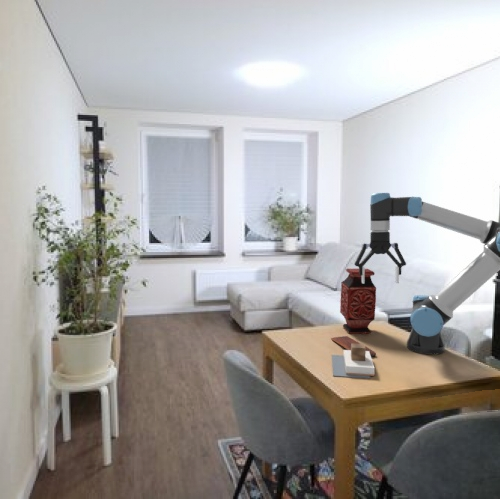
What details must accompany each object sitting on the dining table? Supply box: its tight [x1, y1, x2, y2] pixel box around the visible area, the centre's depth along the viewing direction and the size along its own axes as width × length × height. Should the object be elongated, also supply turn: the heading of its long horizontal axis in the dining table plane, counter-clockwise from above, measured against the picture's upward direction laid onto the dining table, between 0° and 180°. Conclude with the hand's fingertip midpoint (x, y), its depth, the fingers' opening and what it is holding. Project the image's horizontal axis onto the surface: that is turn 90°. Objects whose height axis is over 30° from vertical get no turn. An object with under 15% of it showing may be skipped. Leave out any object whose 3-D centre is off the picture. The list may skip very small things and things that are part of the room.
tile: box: [342, 349, 376, 377], centre depth 167 cm, size 3×18×10 cm
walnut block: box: [351, 343, 366, 361], centre depth 166 cm, size 5×5×5 cm
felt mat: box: [331, 354, 371, 379], centre depth 167 cm, size 13×22×1 cm, turn 171°
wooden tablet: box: [331, 335, 377, 357], centre depth 189 cm, size 27×10×2 cm, turn 12°
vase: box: [339, 268, 377, 335], centre depth 213 cm, size 14×14×30 cm
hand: (379, 283), depth 179 cm, fingers open, 13 cm apart
